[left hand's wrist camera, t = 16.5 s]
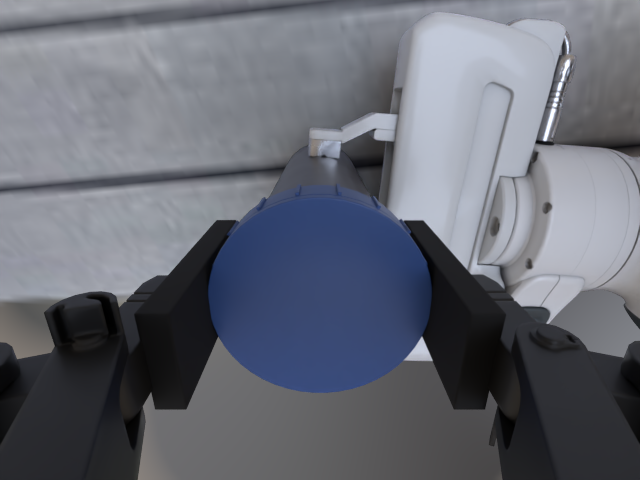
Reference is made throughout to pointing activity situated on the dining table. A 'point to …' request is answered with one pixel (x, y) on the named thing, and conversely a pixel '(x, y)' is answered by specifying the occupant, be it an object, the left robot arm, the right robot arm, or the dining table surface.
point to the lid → (320, 290)
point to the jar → (319, 172)
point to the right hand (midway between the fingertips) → (305, 201)
